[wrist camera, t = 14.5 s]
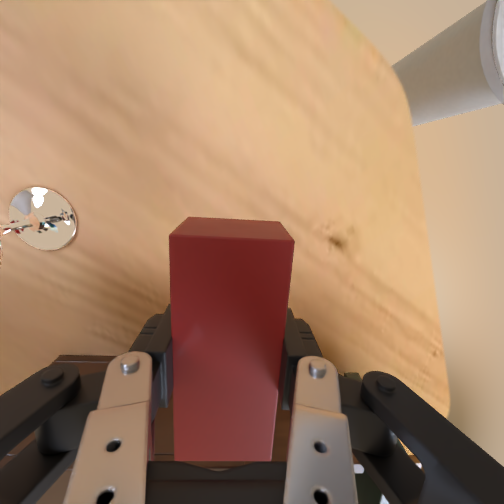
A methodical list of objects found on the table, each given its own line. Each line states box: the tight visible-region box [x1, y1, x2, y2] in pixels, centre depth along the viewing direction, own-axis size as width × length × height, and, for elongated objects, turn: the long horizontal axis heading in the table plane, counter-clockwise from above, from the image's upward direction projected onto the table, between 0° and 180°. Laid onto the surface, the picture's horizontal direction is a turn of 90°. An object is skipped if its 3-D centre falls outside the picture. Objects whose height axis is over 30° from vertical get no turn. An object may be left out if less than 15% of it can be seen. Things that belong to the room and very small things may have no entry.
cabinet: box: [0, 355, 244, 504], centre depth 20 cm, size 15×14×9 cm
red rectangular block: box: [169, 217, 295, 461], centre depth 12 cm, size 10×4×3 cm, turn 176°
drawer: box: [244, 373, 425, 504], centre depth 21 cm, size 18×13×7 cm
